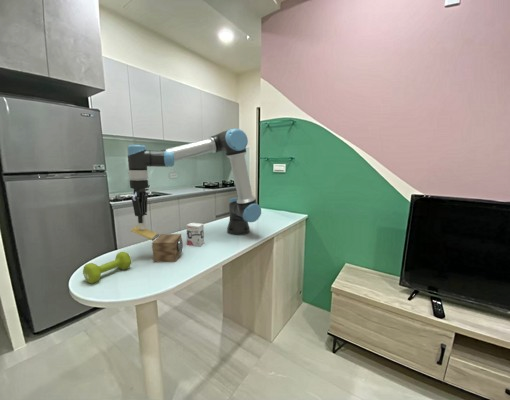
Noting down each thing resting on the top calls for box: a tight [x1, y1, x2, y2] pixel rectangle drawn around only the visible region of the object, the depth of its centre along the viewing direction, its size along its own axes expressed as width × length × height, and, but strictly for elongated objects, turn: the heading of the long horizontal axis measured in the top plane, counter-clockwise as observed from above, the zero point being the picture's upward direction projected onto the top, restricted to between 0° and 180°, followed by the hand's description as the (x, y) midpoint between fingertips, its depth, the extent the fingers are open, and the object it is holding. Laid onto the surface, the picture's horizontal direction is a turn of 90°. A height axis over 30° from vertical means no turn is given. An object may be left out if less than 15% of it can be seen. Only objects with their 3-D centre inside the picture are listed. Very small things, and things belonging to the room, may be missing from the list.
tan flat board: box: [130, 225, 160, 242], centre depth 106 cm, size 11×7×1 cm, turn 94°
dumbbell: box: [82, 251, 132, 284], centre depth 91 cm, size 16×8×7 cm, turn 151°
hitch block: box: [151, 233, 183, 263], centre depth 108 cm, size 10×12×10 cm
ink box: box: [185, 222, 205, 247], centre depth 125 cm, size 8×5×12 cm, turn 73°
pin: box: [177, 239, 183, 252], centre depth 108 cm, size 12×6×6 cm, turn 94°
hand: (142, 228), depth 106 cm, fingers closed
